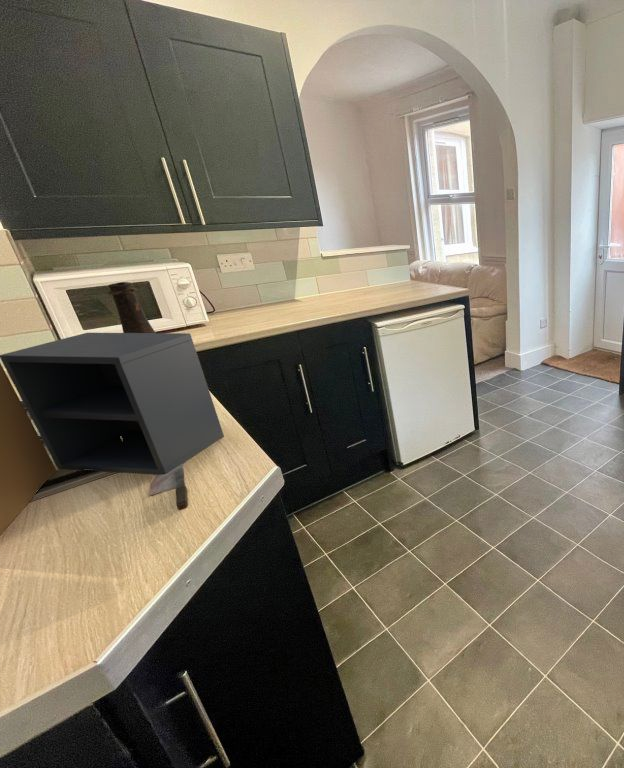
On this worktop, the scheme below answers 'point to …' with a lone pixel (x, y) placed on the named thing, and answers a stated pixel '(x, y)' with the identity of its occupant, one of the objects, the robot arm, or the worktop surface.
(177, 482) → the cleaver
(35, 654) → the worktop surface
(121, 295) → the dark brown vase
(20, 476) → the cupboard door
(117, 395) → the cupboard
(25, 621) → the worktop surface
